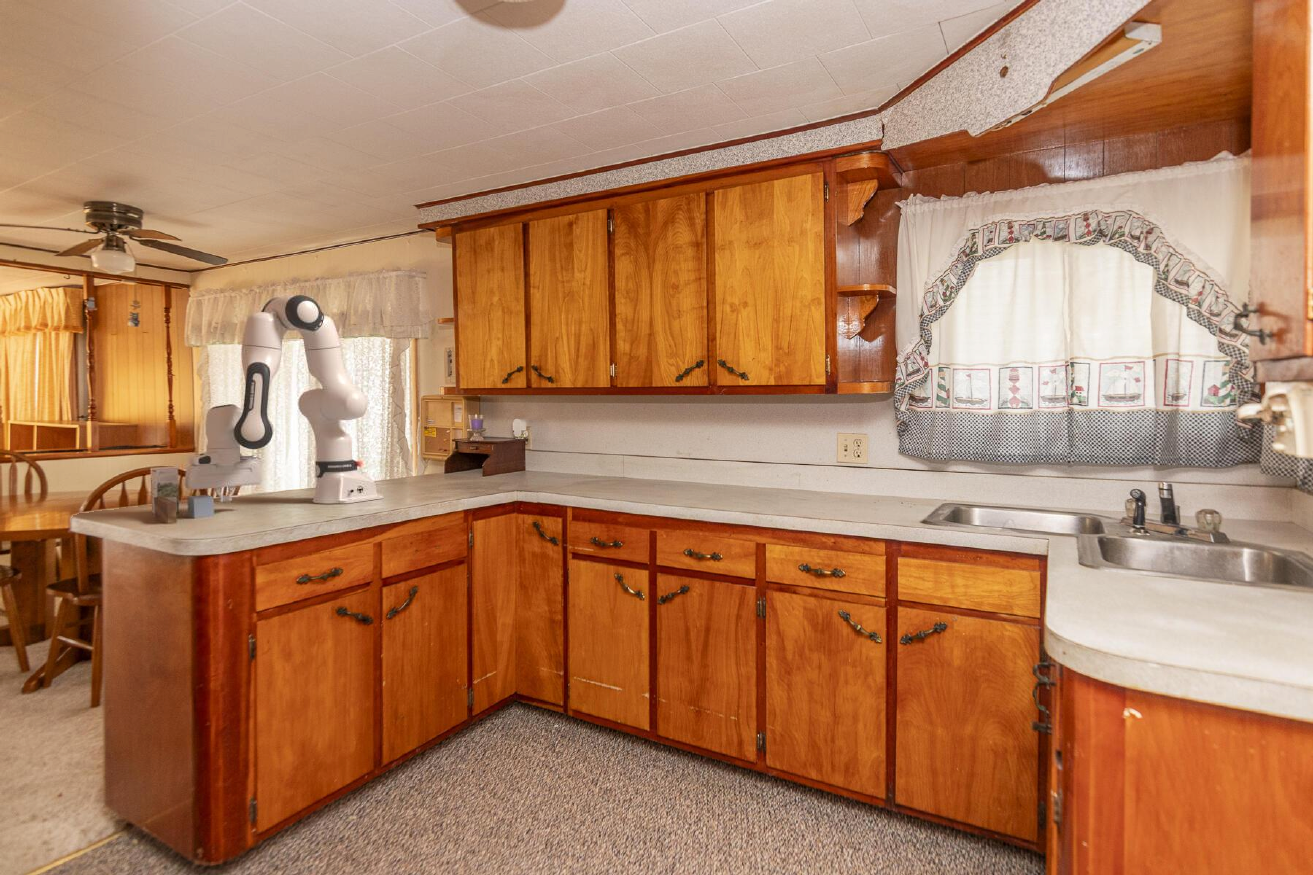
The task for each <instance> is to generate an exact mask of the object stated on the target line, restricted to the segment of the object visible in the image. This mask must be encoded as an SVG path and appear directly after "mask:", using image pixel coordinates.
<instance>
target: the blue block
mask: <svg viewBox="0 0 1313 875" xmlns="http://www.w3.org/2000/svg"><path fill="white" fill-rule="evenodd" d="M214 507H215V506H214V496H212V495H209V494H201V495H190V496H189V495H188V496H187V516H188V517H190V518H193V519H202V518H210V517H212V518H213V517H215V510H214Z"/></svg>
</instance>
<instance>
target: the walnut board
mask: <svg viewBox="0 0 1313 875" xmlns="http://www.w3.org/2000/svg"><path fill="white" fill-rule="evenodd" d="M154 510H155V514H154V518H156V519H157V520H160V521H162V522H164V523H166V524H169V525H170V524H176V523H177V521H178V520H177V513H176V502H174V501H172V500H169V499H167V498H164V497H154Z"/></svg>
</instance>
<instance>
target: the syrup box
mask: <svg viewBox="0 0 1313 875" xmlns="http://www.w3.org/2000/svg"><path fill="white" fill-rule="evenodd" d="M150 487H151V488H150V489H151V494H150V495H151V513H152V514H153V515H155V510H154V497H164V498H167V499H169V500H172V501H174V502H176V514H178V513H180V502H179V500H180V499H179V498H180V496H179V469H178V467H177V466H175V465H168V466H154V467H150Z"/></svg>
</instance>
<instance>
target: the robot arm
mask: <svg viewBox="0 0 1313 875" xmlns="http://www.w3.org/2000/svg"><path fill="white" fill-rule="evenodd" d="M288 331H298V332H299V334H300V336H301V338H302V340H303V347H304V353H305V358H306V363H307V369H308V373H309V374H310V375H311V376H312V377H314V378H315V379H316V380H317V381H318V382H319V384H320V385H321V387H322V388H313V389H310V390H306V391H304V392H303V393H302V394H301V395H300V396H299V398H298V403H297V405H298V410H299V412H300V414H301V415H303V416H304V417H305V418H306V419H307V421H308V423H309V425H310V426H311V429H312V431H313V435H314V438H315V448H316V449H315V450H316V461H315V466H314V467H315V468H314V471H315V477H316V484H315V491H314V495H313V500H312V503H314V504H345V505H346V504H352V503H353V504H354V503H359V502H367V501H371V500H379V499H380V500H381V499H384V495H383V493H379V492H377V486H376V483H375V481H374V480H373V479H372V478H371V477H369V476H367V475H366V474H364V473H363V472H361V471H360V470H359V469H358V467H362V466H363V465H364V463H363V461H361V460H355V459H353V450H352V448H353V446H352V445H353V444H352V436H350V434H348V433H347V432H346V431H345V430H344V428H343V426H342V423H341V421H351V420H356V419H359V418H361V417H363V416H364V415H365V414H366V412H367V410H368V407H369V405H368V399H367V397H366V395H365V394H364V392H362V391H361V390H360V389H359V388H357V387H356V386H355V384H354V383H353V381H352V380H351V378H350V376H349V373H348V372H347V370H346V366H345V362H344V357H343V354H342V353H343V352H342V347H341V342H340V336H339V334H338V331H337V328H336V324H335V322H334V320H333V319H332V317H330V316H328V315H324V313H323V312H322V309H321V307H320V305H319V303H318V302H317V301H316V300H315V299H314V298H312V297H310V296H307V295H305V294H304V295H303V294H297V295H294V294H291V295H290V294H288V295H284V296H279V297H278V296H277V297H273V298H271V299H269V300H268V301H267V302H266V303H264V306H263V307H262V309H261V311H258V312H254V313H251V314H250V315H249V316H248V317H247V319H246V321H245V325H244V328H243V333H242V338H241V339H242V341H241V350H240V351H241V352H240V353H241V364H242V371H243V376H244V381H245V383H244V385H245V387H244V399H243V408H240V407H238V406H237V405H236V404H231V403H230V404H223V405H215V406H213V407H211V408H209V409H208V410H207V413H206V417H205V435H206V438H207V444H206V451H205V452H202V453H199V454H195V455H192V456H190V457H189V458H188V463H189V465H188V466H187V468H186V471H185V476H184V486H185V488H186V489H188V490H190V491H192V490H193V491H194V490H204V489H205V490H206V489H214V492H215V493H216V495H217V496H218V502H220V503H224V502H232V496H233V495H234V492H235V491H236V487H239V486H240V487H241V486H243V487H245V486H252V485H260V484H261V483H262V481H263V477H262V471H261V467H262V460H261V458H260V457H259V456H256V455H241V446H242V447H243V448H244V449H249V450H259V449H262V448H264V447H266V446H267V445H268V444H269V443H270V442H271V440H272V438H273V436H274V430H275V429H274V424H273V423H272V422H271V420H270V419H269V418H268V405H269V396H270V389H271V388H270V387H271V384H272V381H273V379H274V378H275V376H276V374H277V373H278V371H279V368H280V365H281V360H282V357H283V356H282V354H283V340H284V337H285V334H286V333H287V332H288ZM223 488H227V490H228V493H227V495H225V494H224V495H223V494H222V491H223Z"/></svg>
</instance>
